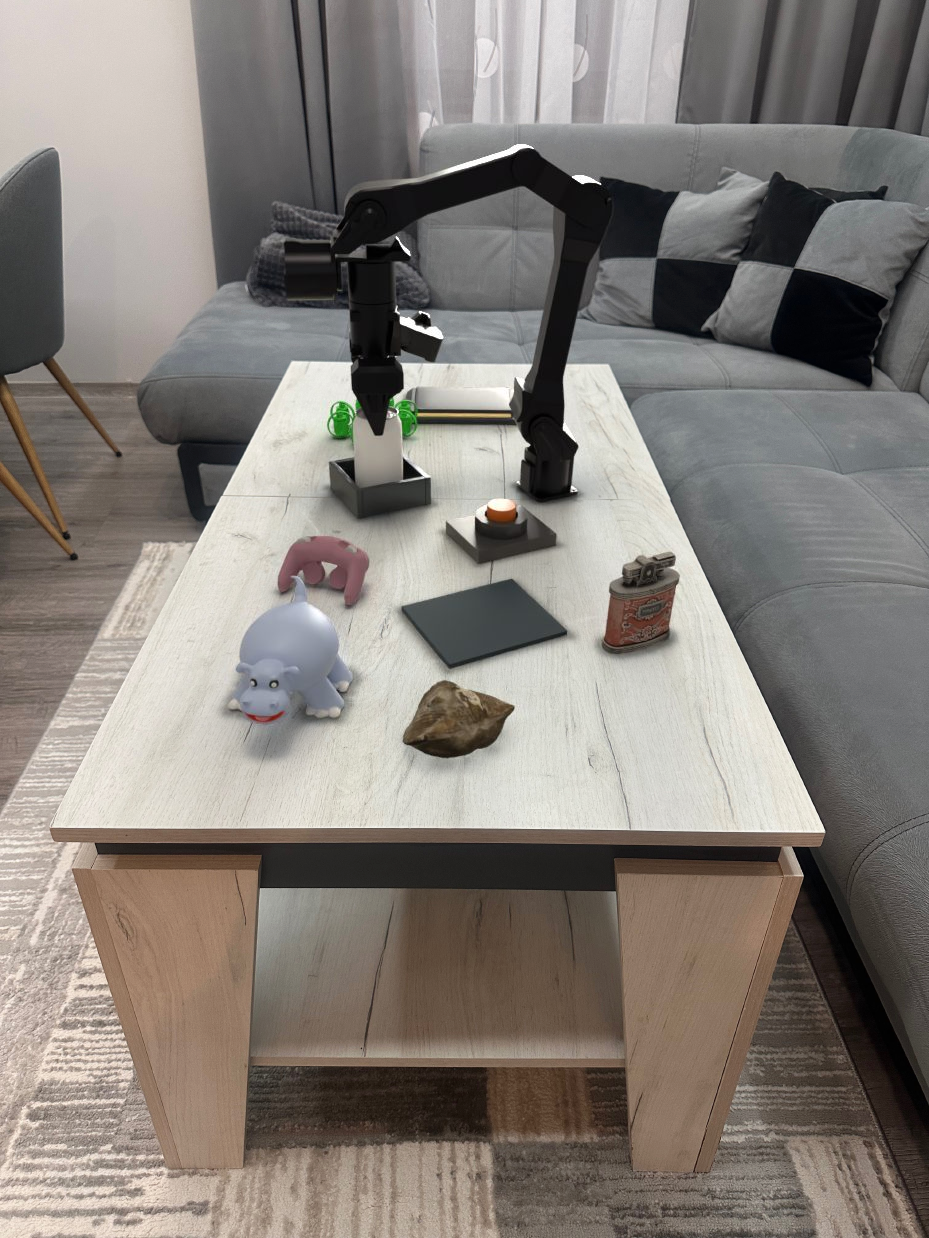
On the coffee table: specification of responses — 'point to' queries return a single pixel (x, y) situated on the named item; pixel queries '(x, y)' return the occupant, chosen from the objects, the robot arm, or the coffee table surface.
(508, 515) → the button
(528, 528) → the button box
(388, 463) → the can
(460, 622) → the mat
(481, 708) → the fossilized seashell
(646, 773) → the coffee table surface
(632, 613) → the lighter
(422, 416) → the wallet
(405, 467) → the box
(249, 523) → the coffee table surface
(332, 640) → the hippopotamus toy
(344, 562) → the video game controller
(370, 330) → the robot arm
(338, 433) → the chandelier
